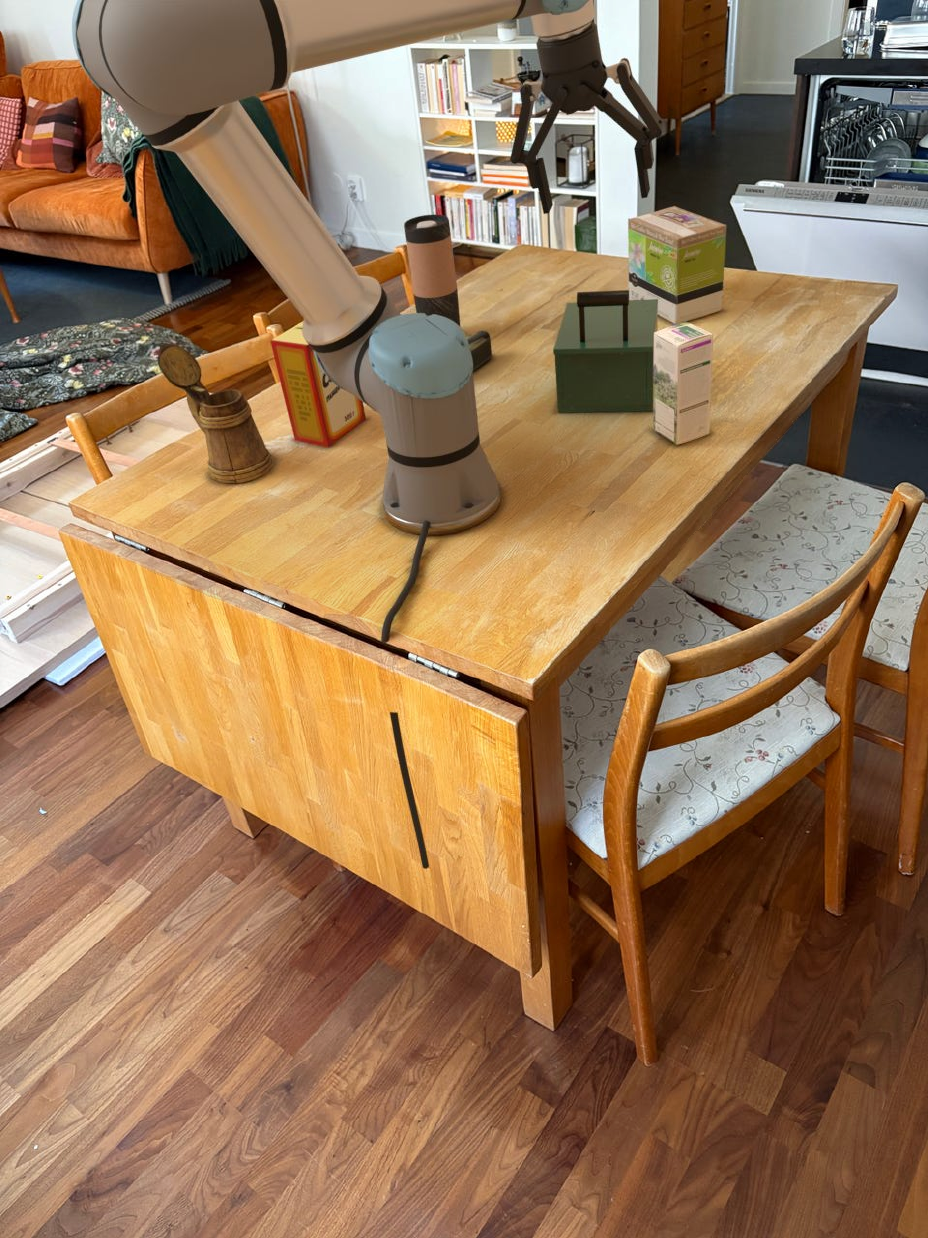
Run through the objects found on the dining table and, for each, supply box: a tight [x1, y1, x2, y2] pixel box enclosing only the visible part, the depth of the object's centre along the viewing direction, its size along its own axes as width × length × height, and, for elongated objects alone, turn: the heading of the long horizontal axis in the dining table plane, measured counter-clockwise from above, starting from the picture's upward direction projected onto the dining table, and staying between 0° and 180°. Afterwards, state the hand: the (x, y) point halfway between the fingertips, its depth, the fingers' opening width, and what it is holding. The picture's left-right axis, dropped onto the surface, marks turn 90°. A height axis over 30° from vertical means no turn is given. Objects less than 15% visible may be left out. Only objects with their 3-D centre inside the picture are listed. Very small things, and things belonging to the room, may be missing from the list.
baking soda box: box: [269, 320, 367, 448], centre depth 140 cm, size 10×6×16 cm
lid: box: [552, 289, 658, 356], centre depth 138 cm, size 18×14×8 cm
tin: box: [554, 307, 659, 414], centre depth 143 cm, size 17×14×9 cm
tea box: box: [627, 205, 727, 325], centre depth 164 cm, size 15×10×15 cm, turn 25°
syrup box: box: [653, 321, 714, 446], centre depth 128 cm, size 6×6×14 cm
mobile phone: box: [467, 330, 493, 372], centre depth 155 cm, size 5×3×15 cm
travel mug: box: [403, 214, 462, 328], centre depth 163 cm, size 8×8×20 cm
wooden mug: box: [157, 342, 274, 484], centre depth 134 cm, size 9×14×18 cm, turn 59°
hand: (596, 201), depth 130 cm, fingers open, 13 cm apart
